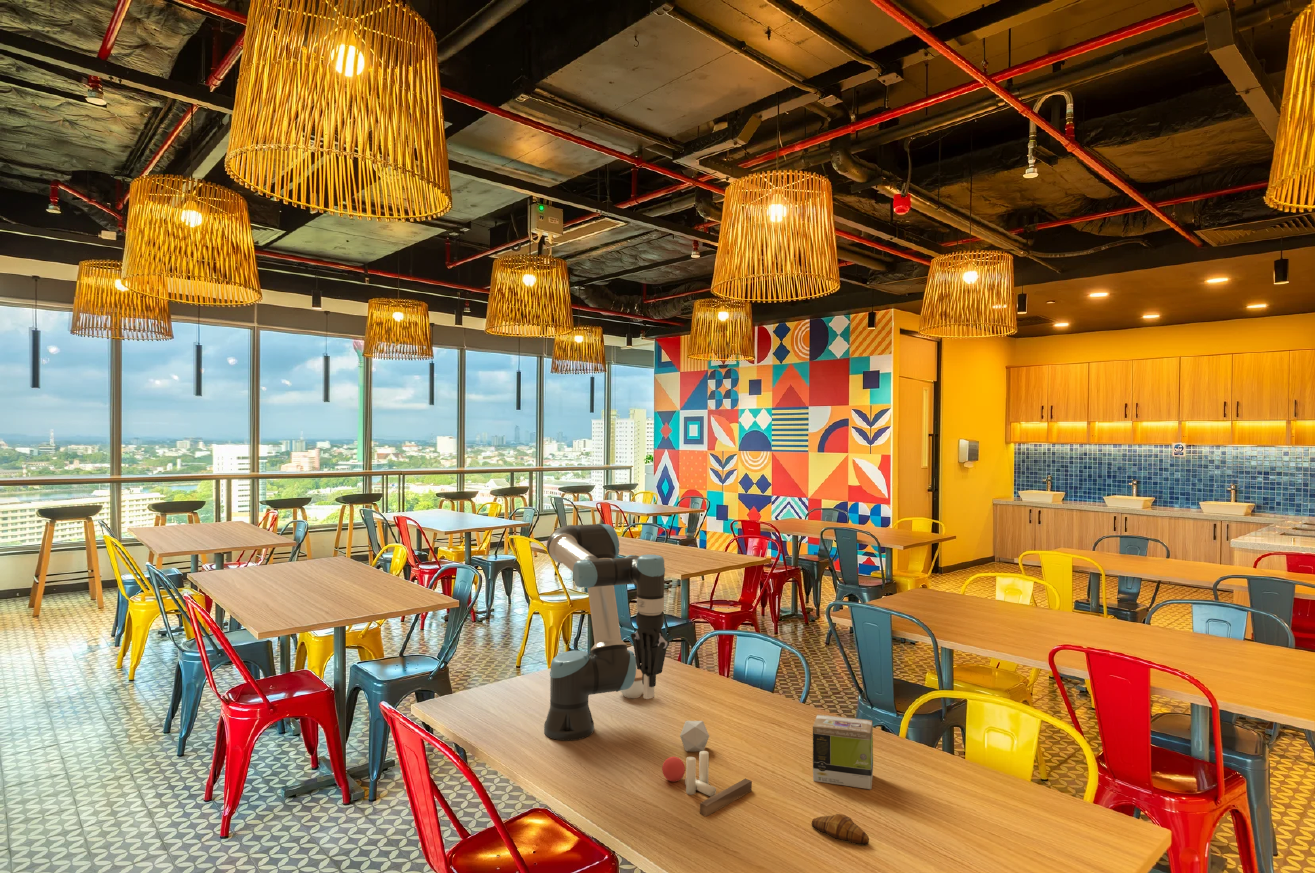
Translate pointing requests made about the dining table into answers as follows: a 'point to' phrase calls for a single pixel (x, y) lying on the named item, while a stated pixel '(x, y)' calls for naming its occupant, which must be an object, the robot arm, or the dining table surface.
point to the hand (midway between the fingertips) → (648, 697)
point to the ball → (673, 769)
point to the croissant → (841, 829)
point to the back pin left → (703, 766)
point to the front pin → (704, 788)
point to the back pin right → (691, 775)
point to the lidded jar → (635, 687)
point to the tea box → (843, 751)
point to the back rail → (725, 797)
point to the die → (694, 736)
